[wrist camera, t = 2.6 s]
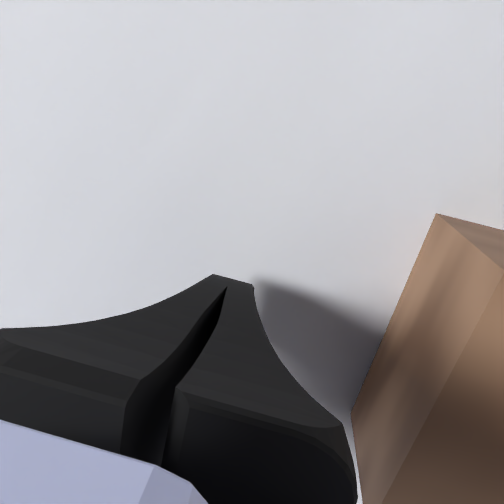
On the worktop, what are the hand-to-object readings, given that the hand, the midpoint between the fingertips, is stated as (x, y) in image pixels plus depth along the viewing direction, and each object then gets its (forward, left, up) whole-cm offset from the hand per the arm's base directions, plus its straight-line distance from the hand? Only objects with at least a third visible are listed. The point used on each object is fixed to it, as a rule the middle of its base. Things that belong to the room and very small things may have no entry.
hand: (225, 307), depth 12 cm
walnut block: (0, -8, -2) cm, 8 cm away
